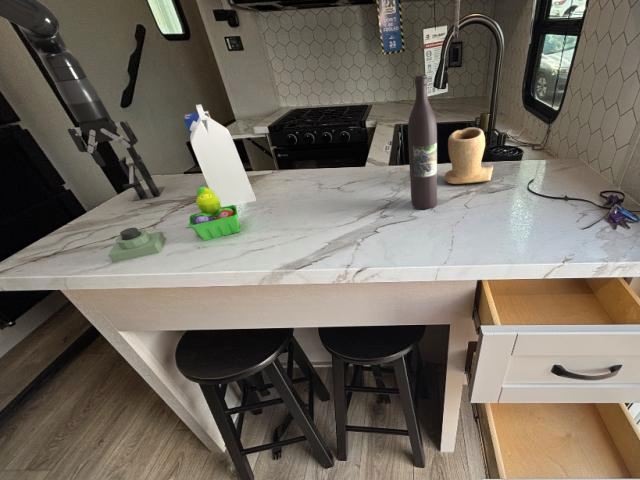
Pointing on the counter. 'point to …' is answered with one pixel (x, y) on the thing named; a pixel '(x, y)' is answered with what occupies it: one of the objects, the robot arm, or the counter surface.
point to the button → (130, 233)
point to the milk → (220, 161)
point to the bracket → (152, 190)
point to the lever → (131, 174)
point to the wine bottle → (422, 149)
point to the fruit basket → (213, 216)
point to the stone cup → (467, 157)
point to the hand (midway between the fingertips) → (119, 163)
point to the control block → (137, 246)
